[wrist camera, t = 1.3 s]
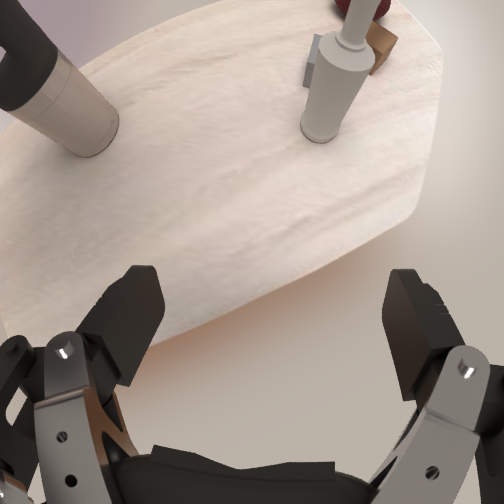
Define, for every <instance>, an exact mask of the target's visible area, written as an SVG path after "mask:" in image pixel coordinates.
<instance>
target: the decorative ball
mask: <svg viewBox="0 0 504 504" xmlns="http://www.w3.org/2000/svg"><path fill="white" fill-rule="evenodd" d="M335 1H336V3H337V5H338V7H339V8H340V9H341V10H342V11H343V12H344V13H345V14H347V12H348V9H349V6H350V2H351V0H335ZM390 4H391V0H381V2H380V4H379V5H378V7H377V9H376V12H375V14H374V17H373V19H372V20H377V19H379V18H381V17H383V16H384V15H385V14H386V13H387V12H388V10H389V8H390Z"/></svg>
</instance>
